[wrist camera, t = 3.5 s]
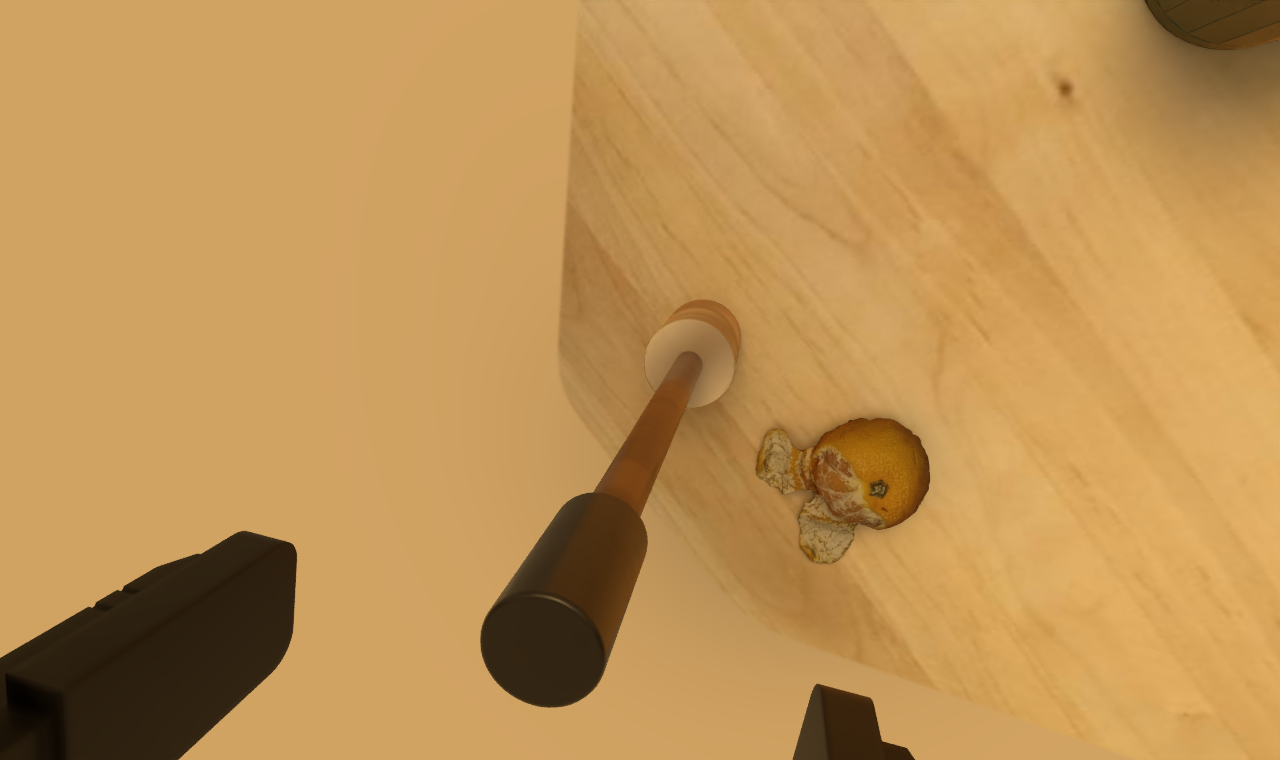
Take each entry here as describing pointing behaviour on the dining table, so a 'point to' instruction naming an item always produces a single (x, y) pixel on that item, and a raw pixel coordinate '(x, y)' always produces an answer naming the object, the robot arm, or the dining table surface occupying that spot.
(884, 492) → the fruit
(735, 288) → the dining table surface
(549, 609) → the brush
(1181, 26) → the cup
